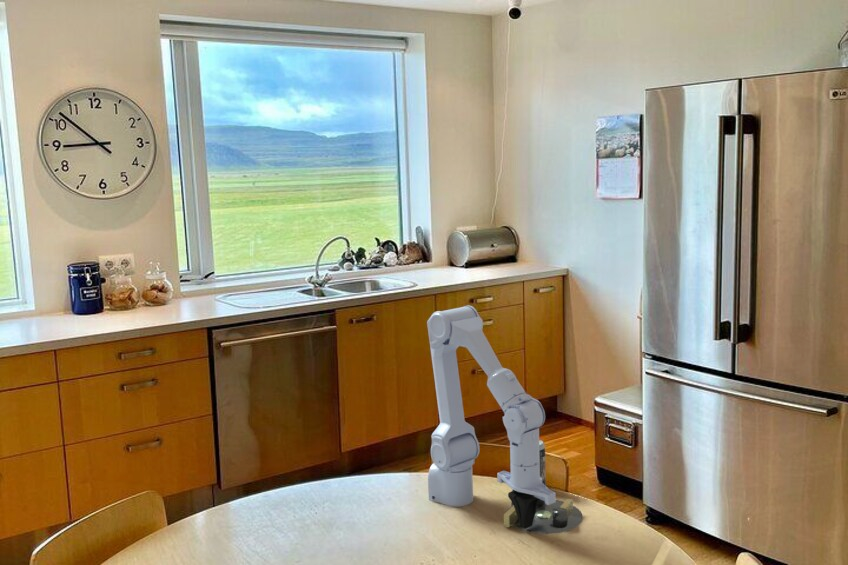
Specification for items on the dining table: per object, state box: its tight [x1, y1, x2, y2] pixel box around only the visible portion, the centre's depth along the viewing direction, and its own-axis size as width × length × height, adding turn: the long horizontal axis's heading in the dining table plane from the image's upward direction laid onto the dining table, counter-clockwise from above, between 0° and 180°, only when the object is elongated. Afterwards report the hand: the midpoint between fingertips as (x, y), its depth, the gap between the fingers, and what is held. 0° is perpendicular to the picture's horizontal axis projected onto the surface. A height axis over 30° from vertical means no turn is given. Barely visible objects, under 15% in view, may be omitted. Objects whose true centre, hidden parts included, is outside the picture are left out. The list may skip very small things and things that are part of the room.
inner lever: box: [503, 501, 518, 528], centre depth 156 cm, size 8×3×3 cm, turn 150°
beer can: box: [539, 439, 547, 487], centre depth 171 cm, size 5×5×12 cm
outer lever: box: [552, 498, 574, 527], centre depth 156 cm, size 8×3×3 cm, turn 150°
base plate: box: [504, 499, 584, 535], centre depth 159 cm, size 16×16×2 cm
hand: (526, 526), depth 152 cm, fingers closed
